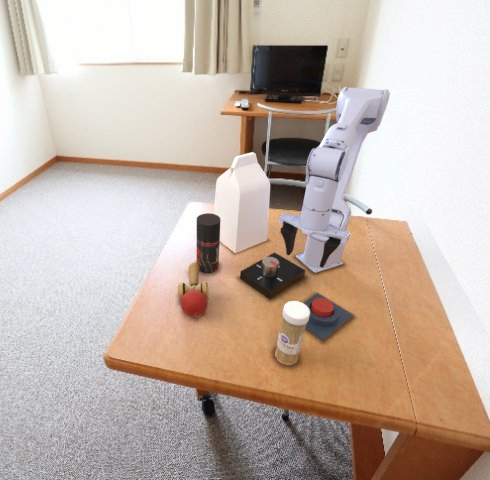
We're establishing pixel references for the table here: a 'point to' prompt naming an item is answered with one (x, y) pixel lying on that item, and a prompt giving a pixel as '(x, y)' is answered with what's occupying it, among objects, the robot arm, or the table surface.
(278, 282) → the hob panel
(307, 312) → the sprinkles bottle
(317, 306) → the push knob
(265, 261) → the dial
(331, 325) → the button base
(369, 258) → the table surface
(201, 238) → the deodorant
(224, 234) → the milk
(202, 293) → the kendama
